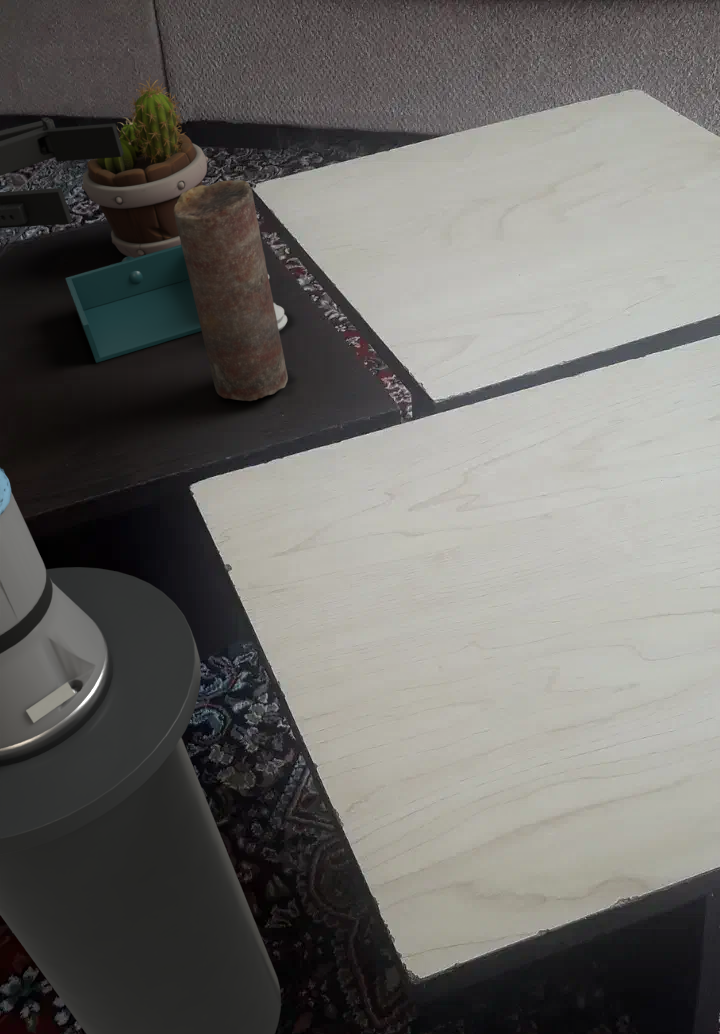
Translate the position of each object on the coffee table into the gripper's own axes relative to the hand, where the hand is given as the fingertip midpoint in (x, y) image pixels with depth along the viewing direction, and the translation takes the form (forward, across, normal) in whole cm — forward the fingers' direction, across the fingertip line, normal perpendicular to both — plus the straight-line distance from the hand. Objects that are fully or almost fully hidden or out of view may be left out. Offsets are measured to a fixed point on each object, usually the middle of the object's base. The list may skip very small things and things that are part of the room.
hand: (93, 171), depth 93 cm
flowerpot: (-10, -33, -23) cm, 41 cm away
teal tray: (-7, -17, -23) cm, 29 cm away
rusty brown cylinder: (+10, 0, -23) cm, 25 cm away
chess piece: (+8, -13, -23) cm, 27 cm away
